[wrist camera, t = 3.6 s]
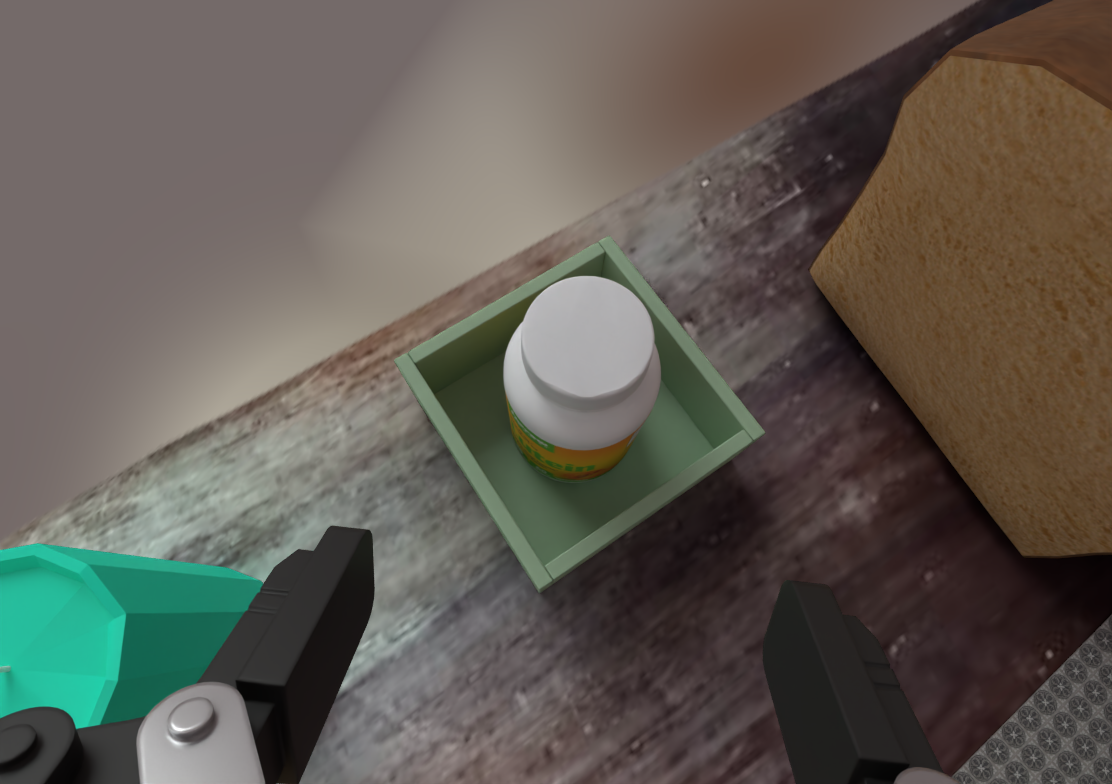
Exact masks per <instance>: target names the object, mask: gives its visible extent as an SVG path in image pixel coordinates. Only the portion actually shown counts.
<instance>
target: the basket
mask: <svg viewBox="0 0 1112 784" xmlns="http://www.w3.org/2000/svg"><path fill="white" fill-rule="evenodd" d="M578 276H596V277H601V278H605V279H609V280H611V281H614V282H616V283H618V284H620V285H622V286H624V287H625V288H627V289H628V290H630V291H631V292H632V293H633V294H634V295H635V296H636V297H638V299H639V300H640V301H641V302H642V304H643V305H644V306H645V308H646V310H647V312H648V314H649V316H650V318H651V321H652V324H653V328H654V335H655V341H654V343H655V345H656V348H657V350H658V354H659V359H660V365H661V382H660V388H659V393H658V396H657V399H656V401H655V404H654V407H653V409H652V411H651V412H650V414H649V416H648V417H647V419H646V421H645V422H644V424H643V426H642V427H641V429H640V431H639V433H638V434H637V436H636V438H635V440H634V441H633V443H632V445H631V447H630V448H629V450H628V452H627V453H626V455H625V456H624V458H623V459H622V460H621V462H620V463H619V464H618V465H617V466H616V467H615V468H614V469H613V470H611V471H610V472H609V473H607V474H605V475H604V476H602V477H600V478H598V479H595V480H592V481H588V482H583V483H565V482H559V481H555V480H553V479H550V478H548V477H546V476H544V475H542V474H540V473H539V472H537V471H536V470H535V469H533V468H532V467H531V466H530V465H529V464H528V463H527V462H526V461H525V460H524V458H523V457H522V456H521V454H520V452H519V451H518V449H517V447H516V445H515V442H514V439H513V435H512V431H511V425H510V418H509V412H508V405H507V399H506V393H505V387H504V378H503V371H504V359H505V354H506V350H507V347H508V344H509V342H510V340H511V338H512V336H513V334H514V332H515V331H516V329H517V328H518V327H519V325H520V324H521V323H522V322H523V321H524V318H525V315H526V313H527V311H528V309H529V307H530V305H531V304H532V303H533V301H534V300H535V299H536V297H537V296H539V295H540V294H541V293H542V292H543V291H544V290H545V289H547V288H548V287H550V286H551V285H553V284H555V283H557V282H559V281H561V280H564V279H567V278H572V277H578ZM394 362H395V364H396V365H397V367H398V369H399V370H400V372H401V374H402V375H403V377H404V379H405V380H406V382H407V384H408V385H409V387H410V389H411V390H412V392H413V394H414V395H415V397H416V399H417V400H418V402H419V404H420V405H421V407H422V408H423V410H424V411H425V413H426V415H427V416H428V418H429V419H430V421H431V423H432V424H433V426H434V427H435V429H436V431H437V432H438V434H439V435H440V437H441V438H442V440H443V442H444V443H445V445H446V446H447V448H448V450H449V451H450V453H451V454H452V456H453V458H454V459H455V461H456V462H457V464H458V465H459V467H460V469H461V470H462V472H463V473H464V475H465V477H466V478H467V480H468V481H469V483H470V485H471V486H472V488H473V489H474V491H475V493H476V494H477V496H478V497H479V499H480V500H481V502H482V504H483V505H484V507H485V508H486V510H487V512H488V513H489V515H490V516H491V518H492V520H493V521H494V523H495V524H496V526H497V527H498V529H499V531H500V532H501V534H502V535H503V537H504V539H505V540H506V542H507V543H508V545H509V547H510V548H511V550H512V551H513V553H514V554H515V556H516V558H517V559H518V561H519V562H520V564H521V566H522V567H523V569H524V570H525V572H526V574H527V575H528V577H529V578H530V580H531V582H532V583H533V585H534V586H535V588H536V589H537V591H538V592H539V593H541V592H542V591H544V590H545V589H547V588H548V587H549V586H551V585H552V584H554V583H555V582H557V581H558V580H560V579H561V578H562V577H564V576H565V575H567V574H568V573H570V572H571V571H572V570H574V569H575V568H577V567H578V566H580V565H581V564H582V563H584V562H585V561H587V560H588V559H590V558H591V557H593V556H594V555H595V554H597V553H598V552H600V551H601V550H603V549H604V548H605V547H607V546H608V545H610V544H611V543H613V542H614V541H616V540H617V539H618V538H620V537H621V536H623V535H624V534H626V533H627V532H628V531H630V530H631V529H633V528H634V527H636V526H637V525H638V524H640V523H641V522H643V521H644V520H646V519H647V518H649V517H650V516H651V515H653V514H654V513H656V512H657V511H659V510H660V509H661V508H663V507H664V506H666V505H667V504H669V503H670V502H672V501H673V500H674V499H676V498H677V497H679V496H680V495H682V494H683V493H684V492H686V491H687V490H689V489H690V488H692V487H693V486H694V485H696V484H697V483H699V482H700V481H702V480H703V479H705V478H706V477H707V476H709V475H710V474H712V473H713V472H715V471H716V470H717V469H719V468H720V467H722V466H723V465H725V464H726V463H728V462H729V461H730V460H732V459H733V458H734V457H736V456H737V455H738V454H740V453H741V452H742V451H743V450H745V449H746V448H747V447H749V446H750V445H751V444H753V443H754V442H755V441H756V440H758V439H759V438H760V437H762V436H763V435H764V434H765V431H764V430H763V429H762V427H761V426H760V425H759V424H758V422H757V421H756V420H755V419H754V417H753V416H752V415H751V414H750V412H749V411H748V410H747V408H746V407H745V406H744V405H743V403H742V402H741V401H740V400H739V398H738V397H737V396H736V395H735V393H734V392H733V391H732V390H731V388H730V387H729V386H728V384H727V383H726V382H725V381H724V379H723V378H722V377H721V376H720V374H719V373H718V372H717V371H716V369H715V368H714V367H713V365H712V364H711V363H710V362H709V360H708V359H707V358H706V357H705V355H704V354H703V353H702V352H701V350H700V349H699V348H698V347H697V345H696V344H695V343H694V341H693V340H692V339H691V338H690V336H689V335H688V334H687V333H686V331H685V330H684V329H683V328H682V326H681V325H680V324H679V323H678V321H677V320H676V319H675V317H674V316H673V315H672V314H671V312H670V311H669V310H668V309H667V307H666V306H665V305H664V304H663V302H662V301H661V300H660V298H659V297H658V296H657V295H656V293H655V292H654V291H653V290H652V288H651V287H650V286H649V285H648V283H647V282H646V281H645V280H644V278H643V277H642V276H641V274H640V273H639V272H638V271H637V269H636V268H635V267H634V266H633V264H632V263H631V262H630V261H629V259H628V258H627V257H626V256H625V254H624V253H623V252H622V250H621V249H620V248H619V247H618V245H617V244H616V243H615V242H614V240H613V239H612V238H611V237H610V236H607V237H605V238H604V239H602V240H600V241H599V242H597V243H595V244H593V245H592V246H590V247H588V248H586V249H585V250H583V251H581V252H579V253H578V254H576V255H574V256H573V257H571V258H569V259H567V260H566V261H564V262H562V263H560V264H559V265H557V266H555V267H554V268H552V269H550V270H548V271H547V272H545V273H543V274H541V275H540V276H538V277H536V278H535V279H533V280H531V281H529V282H528V283H526V284H524V285H523V286H521V287H519V288H517V289H516V290H514V291H512V292H510V293H509V294H507V295H505V296H504V297H502V298H500V299H498V300H497V301H495V302H493V303H491V304H490V305H488V306H486V307H485V308H483V309H481V310H479V311H478V312H476V313H474V314H472V315H471V316H469V317H467V318H466V319H464V320H462V321H460V322H459V323H457V324H455V325H453V326H452V327H450V328H448V329H447V330H445V331H443V332H441V333H440V334H438V335H436V336H434V337H433V338H431V339H429V340H428V341H426V342H424V343H422V344H421V345H419V346H417V347H415V348H414V349H412V350H410V351H409V352H408V353H405V354H403V355H402V356H400V357H398V358H396V359H395V360H394Z"/></svg>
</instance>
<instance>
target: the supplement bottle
mask: <svg viewBox="0 0 1112 784" xmlns="http://www.w3.org/2000/svg"><path fill="white" fill-rule="evenodd" d="M654 341H655V335H654V328H653V324H652V321H651V318H650V316H649V314H648V312H647V310H646V308H645V306H644V305H643V304H642V302H641V301H640V300H639V299H638V297H636V296H635V295H634V294H633V293H632V292H631V291H630V290H628V289H627V288H625V287H624V286H622V285H620V284H618V283H616V282H614V281H611V280H609V279H605V278H601V277H596V276H578V277H572V278H567V279H564V280H561V281H559V282H557V283H555V284H553V285H551V286H550V287H548V288H547V289H545V290H544V291H543V292H542V293H541V294H540V295H539V296H537V297H536V299H535V300H534V301H533V303H532V304H531V305H530V307H529V309H528V311H527V313H526V315H525V318H524V321H523V322H522V323H521V324H520V325H519V327H518V328H517V329H516V331H515V332H514V334H513V336H512V338H511V340H510V342H509V344H508V347H507V350H506V354H505V359H504V371H503V378H504V387H505V393H506V399H507V405H508V412H509V418H510V425H511V431H512V435H513V439H514V442H515V445H516V447H517V449H518V451H519V452H520V454H521V456H522V457H523V458H524V460H525V461H526V462H527V463H528V464H529V465H530V466H531V467H532V468H533V469H535V470H536V471H537V472H539V473H540V474H542V475H544V476H546V477H548V478H550V479H553V480H555V481H559V482H565V483H583V482H588V481H592V480H595V479H598V478H600V477H602V476H604V475H605V474H607V473H609V472H610V471H611V470H613V469H614V468H615V467H616V466H617V465H618V464H619V463H620V462H621V460H622V459H623V458H624V456H625V455H626V453H627V452H628V450H629V448H630V447H631V445H632V443H633V441H634V440H635V438H636V436H637V434H638V433H639V431H640V429H641V427H642V426H643V424H644V422H645V421H646V419H647V417H648V416H649V414H650V412H651V411H652V409H653V407H654V404H655V401H656V399H657V396H658V393H659V388H660V382H661V365H660V359H659V354H658V350H657V348H656V345H655V343H654Z"/></svg>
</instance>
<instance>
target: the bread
mask: <svg viewBox="0 0 1112 784" xmlns="http://www.w3.org/2000/svg"><path fill="white" fill-rule="evenodd" d="M808 270H809V272H810V273H811V275H812V277H813V279H814V281H815V283H816V284H817V286H818V287H819V289H820V290H821V291H822V293H823V294H824V295H825V297H826V298H827V300H828V301H829V302H830V304H831V305H832V307H833V308H834V309H835V311H836V312H837V313H838V315H839V316H840V317H841V319H842V320H843V321H844V323H845V324H846V325H847V327H848V328H849V329H850V331H851V332H852V333H853V334H854V336H855V337H856V338H857V340H858V341H859V342H860V344H861V345H862V346H863V348H864V349H865V350H866V352H867V353H868V354H869V356H870V357H871V358H872V360H873V361H874V362H875V363H876V365H877V366H878V367H879V369H880V370H881V371H882V373H883V374H884V375H885V376H886V378H887V379H888V380H889V382H890V383H891V384H892V385H893V387H894V388H895V389H896V391H897V392H898V393H899V395H900V396H901V397H902V398H903V400H904V401H905V402H906V404H907V405H908V406H909V407H910V409H911V410H912V411H913V413H914V414H915V415H916V417H917V418H918V419H919V421H920V422H921V423H922V425H923V426H924V428H925V429H926V430H927V432H928V433H929V434H930V436H931V437H932V438H933V440H934V441H935V442H936V444H937V445H938V446H939V448H940V449H941V450H942V452H943V453H944V454H945V456H946V457H947V458H948V460H949V461H950V462H951V464H952V465H953V466H954V468H955V469H956V470H957V472H958V473H959V474H960V476H961V477H962V478H963V480H964V481H965V482H966V483H967V485H968V486H969V487H970V489H971V490H972V491H973V493H974V494H975V495H976V497H977V498H978V499H979V501H980V502H981V503H982V505H983V506H984V507H985V509H986V510H987V511H988V513H989V514H990V516H991V517H992V518H993V519H994V521H995V522H996V523H997V524H998V526H999V527H1000V528H1001V529H1002V531H1003V532H1004V533H1005V535H1006V536H1007V537H1008V538H1009V540H1010V541H1011V542H1012V543H1013V545H1014V546H1015V547H1016V549H1017V550H1018V551H1019V552H1020V554H1021V555H1022V556H1023V557H1024V558H1069V557H1080V556H1091V555H1112V0H1053V1H1051V2H1049V3H1047V4H1045V5H1043V6H1040V7H1038V8H1036V9H1034V10H1031V11H1029V12H1027V13H1025V14H1022V15H1020V16H1018V17H1015V18H1013V19H1011V20H1009V21H1006V22H1004V23H1002V24H1000V25H997V26H995V27H993V28H991V29H988V30H986V31H984V32H982V33H979V34H977V35H975V36H973V37H971V38H970V39H968V40H966V41H964V42H963V43H961V44H959V45H957V46H956V47H954V48H952V49H951V50H950V51H949V52H948V53H947V54H945V55H944V56H943V57H942V58H941V59H940V60H939V61H938V62H937V63H936V64H935V65H934V66H933V67H932V68H931V69H930V70H929V71H928V72H927V73H926V74H925V75H924V76H923V77H922V78H921V79H920V80H919V81H918V82H917V83H916V84H915V85H914V86H913V87H912V88H911V89H910V90H909V91H908V92H907V93H906V94H905V95H904V97H903V100H902V103H901V106H900V108H899V111H898V114H897V117H896V120H895V123H894V126H893V129H892V132H891V135H890V137H889V140H888V143H887V146H886V149H885V152H884V154H883V155H882V157H881V159H880V160H879V162H878V164H877V165H876V167H875V168H874V170H873V172H872V173H871V175H870V177H869V178H868V180H867V182H866V183H865V185H864V187H863V188H862V190H861V192H860V193H859V195H858V196H857V198H856V199H855V201H854V202H853V204H852V205H851V207H850V208H849V210H848V211H847V213H846V215H845V216H844V218H843V219H842V221H841V222H840V224H839V225H838V226H837V228H836V229H835V230H834V232H833V233H832V234H831V236H830V237H829V238H828V240H827V241H826V242H825V244H824V245H823V246H822V248H821V249H820V251H819V252H818V254H817V256H816V257H815V259H814V261H813V262H812V264H811V266H810V267H809V269H808Z"/></svg>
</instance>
